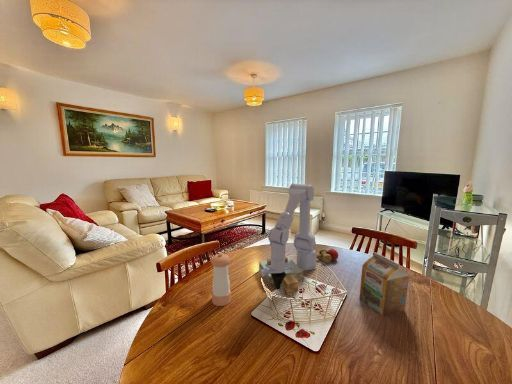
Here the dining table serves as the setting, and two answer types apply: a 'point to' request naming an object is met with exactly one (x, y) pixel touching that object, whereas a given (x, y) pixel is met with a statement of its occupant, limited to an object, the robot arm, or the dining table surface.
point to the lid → (287, 260)
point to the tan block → (290, 283)
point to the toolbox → (270, 280)
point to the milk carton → (383, 285)
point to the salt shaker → (221, 280)
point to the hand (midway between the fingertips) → (277, 288)
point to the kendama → (327, 255)
